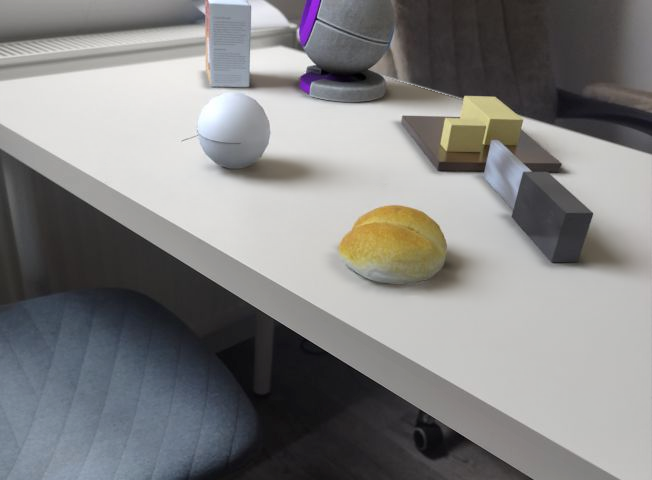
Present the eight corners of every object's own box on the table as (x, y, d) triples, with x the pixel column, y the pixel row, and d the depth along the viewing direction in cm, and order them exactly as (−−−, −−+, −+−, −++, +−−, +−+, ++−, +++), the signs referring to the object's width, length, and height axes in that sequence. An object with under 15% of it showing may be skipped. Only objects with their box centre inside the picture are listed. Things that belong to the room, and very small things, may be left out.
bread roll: (326, 273, 54) (330, 227, 52) (361, 230, 61) (367, 187, 59) (428, 299, 52) (438, 252, 50) (454, 251, 59) (463, 207, 57)
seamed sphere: (246, 149, 76) (247, 80, 72) (282, 173, 71) (286, 99, 67) (161, 163, 71) (157, 89, 67) (193, 189, 66) (191, 111, 62)
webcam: (293, 74, 103) (300, -41, 95) (378, 79, 104) (392, -34, 96) (298, 99, 93) (305, -27, 84) (392, 104, 94) (409, -20, 85)
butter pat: (473, 145, 79) (479, 118, 77) (480, 152, 77) (486, 125, 75) (440, 144, 79) (444, 117, 77) (446, 151, 77) (451, 124, 75)
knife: (577, 262, 59) (594, 213, 56) (551, 262, 58) (566, 213, 56) (497, 177, 74) (507, 135, 71) (475, 176, 74) (484, 134, 71)
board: (506, 125, 89) (508, 117, 89) (559, 172, 76) (562, 163, 76) (400, 123, 87) (402, 115, 87) (437, 170, 74) (439, 161, 74)
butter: (489, 121, 87) (495, 96, 85) (517, 145, 80) (523, 119, 78) (459, 120, 87) (464, 95, 85) (484, 145, 79) (489, 118, 78)
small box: (205, 71, 101) (204, -9, 95) (243, 72, 102) (245, -7, 96) (209, 87, 95) (208, 2, 89) (249, 87, 96) (251, 4, 90)
